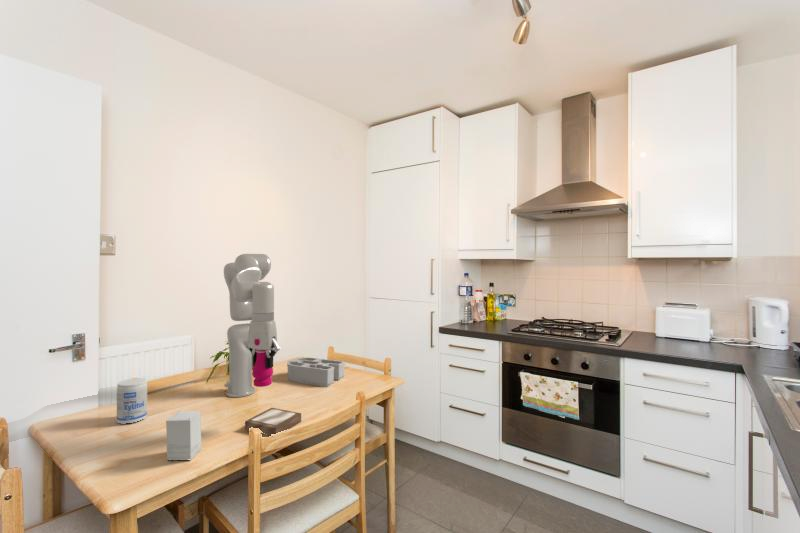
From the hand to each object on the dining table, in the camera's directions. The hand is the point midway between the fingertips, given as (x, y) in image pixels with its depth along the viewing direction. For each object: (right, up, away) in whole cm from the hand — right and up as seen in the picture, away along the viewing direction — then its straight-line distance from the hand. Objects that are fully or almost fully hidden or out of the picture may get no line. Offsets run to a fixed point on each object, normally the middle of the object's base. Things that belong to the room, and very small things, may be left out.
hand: (263, 366), depth 141 cm
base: (+3, -22, +2) cm, 23 cm away
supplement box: (-17, -23, -20) cm, 35 cm away
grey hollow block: (+5, -22, +58) cm, 62 cm away
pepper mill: (0, -7, 0) cm, 7 cm away
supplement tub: (-52, -22, +6) cm, 57 cm away
